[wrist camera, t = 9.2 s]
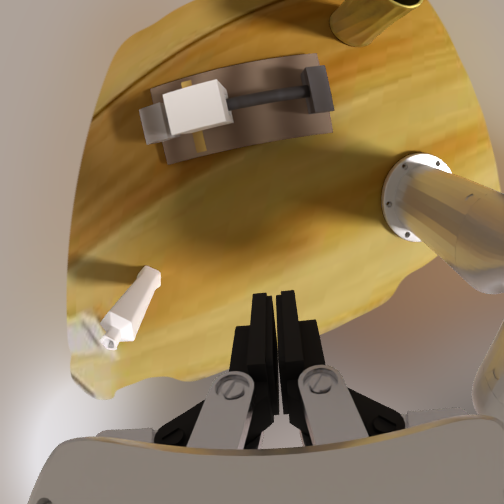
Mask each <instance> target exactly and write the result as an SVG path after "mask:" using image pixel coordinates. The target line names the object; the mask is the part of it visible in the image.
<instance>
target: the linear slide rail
mask: <svg viewBox="0 0 504 504" xmlns="http://www.w3.org/2000/svg"><path fill="white" fill-rule="evenodd" d="M215 79H217V80H218V81H219V82H220V83H221V85H222V86H223V87H224V88H225V89H226V90H227V95H228V98H227V99H226V102H227V107H228V111H231V113H232V117H233V122H234V123H231V124H226V125H222V126H218V127H213V128H209V129H205V130H201V131H197V132H193V133H188V134H179V135H171V130H170V126H169V122H168V117H167V113H166V109H165V104H164V99H163V94H166V93H169V92H172V91H175V90H179V89H182V88H186V87H189V86H193V85H196V84H200V83H204V82H207V81H211V80H215ZM150 90H151V95H152V100H153V105H150V106H147V107H145V108H142V109H139V113H140V117H141V122H142V126H143V131H144V135H145V139H146V143H147V145H148V144H153V143H158V142H162V144H163V148H164V152H165V156H166V160H167V164H168V165H170V164H173V163H177V162H181V161H185V160H188V159H192V158H196V157H200V156H204V155H209V154H213V153H217V152H222V151H226V150H231V149H235V148H240V147H245V146H250V145H255V144H261V143H266V142H272V141H277V140H283V139H289V138H296V137H302V136H309V135H317V134H324V133H332V132H333V129H332V123H331V117H330V111H334V106H333V101H332V96H331V91H330V86H329V82H328V77H327V73H326V68H325V65H323V66H320V65H319V61H318V57H317V53H314V54H303V55H294V56H286V57H278V58H272V59H265V60H259V61H254V62H248V63H243V64H238V65H233V66H229V67H224V68H220V69H216V70H212V71H208V72H204V73H200V74H196V75H193V76H189V77H186V78H183V79H179V80H176V81H173V82H170V83H167V84H163V85H160V86H158V87H155V88H152V89H150Z"/></svg>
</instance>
